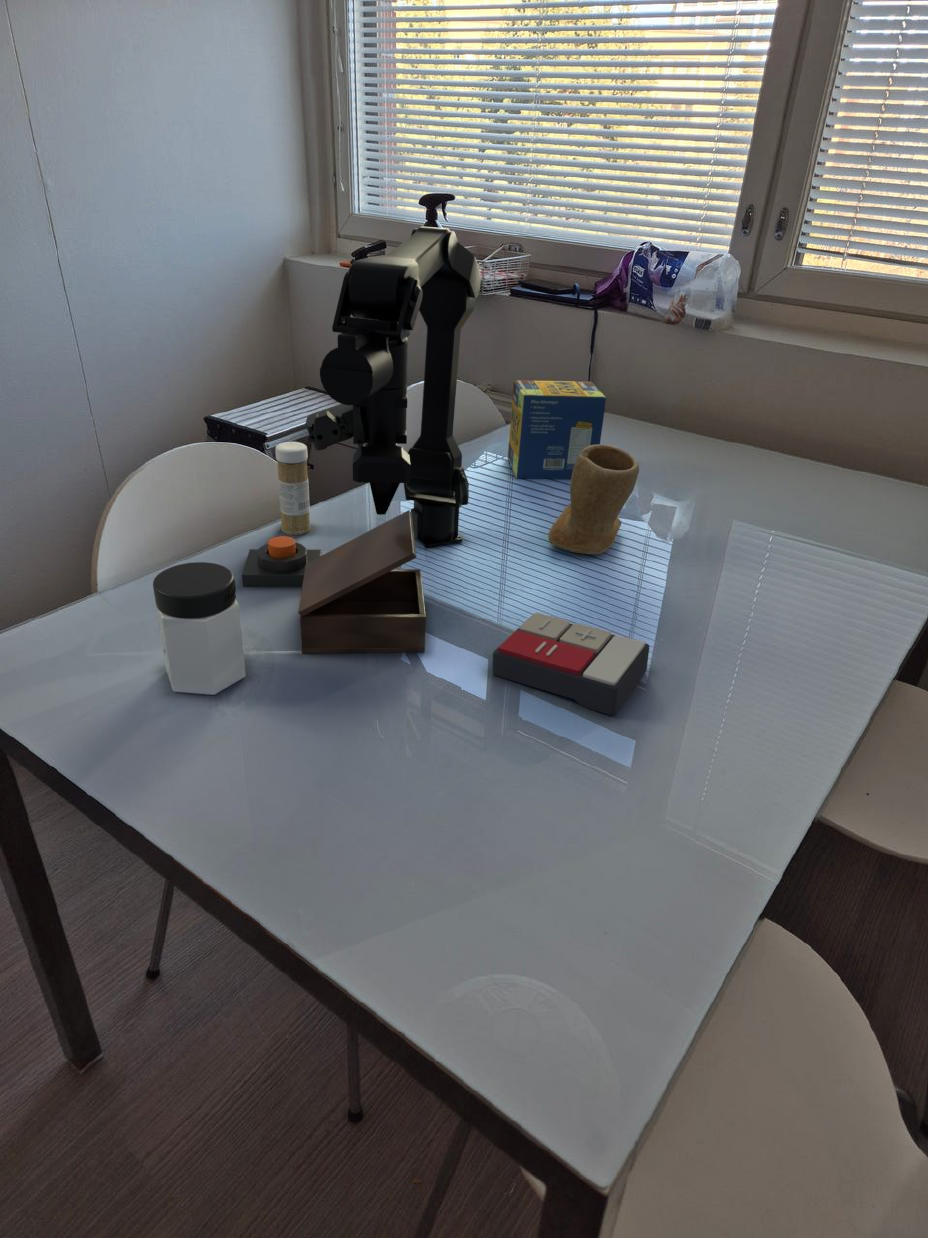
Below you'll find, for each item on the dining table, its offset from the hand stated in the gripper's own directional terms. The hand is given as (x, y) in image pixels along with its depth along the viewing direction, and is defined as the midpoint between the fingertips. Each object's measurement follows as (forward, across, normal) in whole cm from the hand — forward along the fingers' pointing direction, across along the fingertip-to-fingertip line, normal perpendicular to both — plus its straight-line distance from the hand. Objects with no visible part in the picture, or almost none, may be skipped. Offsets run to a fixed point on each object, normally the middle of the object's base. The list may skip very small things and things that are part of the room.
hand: (381, 513), depth 99 cm
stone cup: (+13, -22, +33) cm, 41 cm away
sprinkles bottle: (+13, -25, -13) cm, 31 cm away
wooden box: (+13, +4, -2) cm, 14 cm away
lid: (+5, +4, -3) cm, 7 cm away
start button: (+10, -10, -13) cm, 19 cm away
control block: (+13, -10, -13) cm, 21 cm away
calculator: (+14, +15, +22) cm, 30 cm away
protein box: (+13, -54, +32) cm, 64 cm away
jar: (+14, +15, -19) cm, 28 cm away
